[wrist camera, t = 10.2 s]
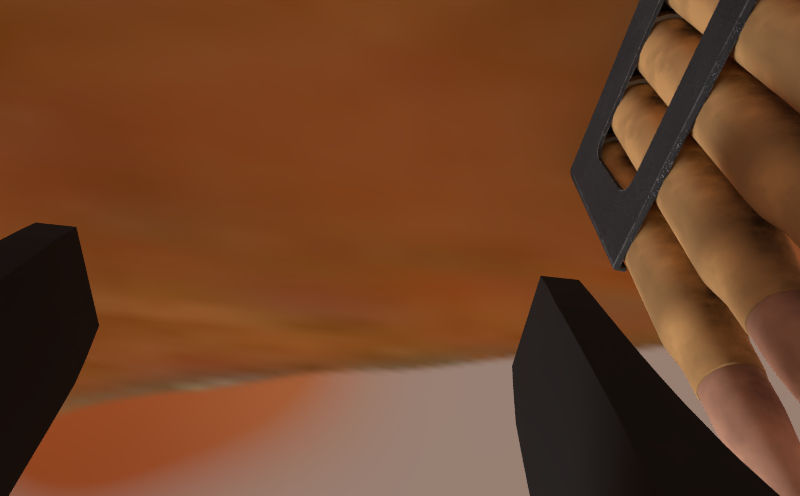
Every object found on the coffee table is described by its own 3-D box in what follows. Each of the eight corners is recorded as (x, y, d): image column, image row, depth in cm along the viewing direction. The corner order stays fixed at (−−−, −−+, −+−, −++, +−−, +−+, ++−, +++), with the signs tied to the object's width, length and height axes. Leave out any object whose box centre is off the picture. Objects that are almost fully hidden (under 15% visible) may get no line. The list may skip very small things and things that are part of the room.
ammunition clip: (624, 186, 19) (830, 576, 10) (567, 175, 19) (720, 561, 10) (828, -242, 13) (1947, -340, 4) (747, -264, 13) (1695, -431, 3)
